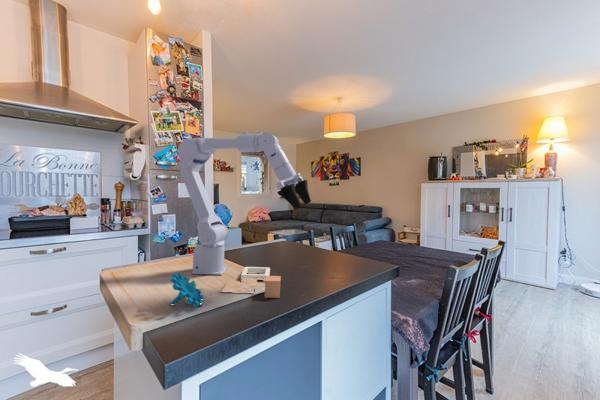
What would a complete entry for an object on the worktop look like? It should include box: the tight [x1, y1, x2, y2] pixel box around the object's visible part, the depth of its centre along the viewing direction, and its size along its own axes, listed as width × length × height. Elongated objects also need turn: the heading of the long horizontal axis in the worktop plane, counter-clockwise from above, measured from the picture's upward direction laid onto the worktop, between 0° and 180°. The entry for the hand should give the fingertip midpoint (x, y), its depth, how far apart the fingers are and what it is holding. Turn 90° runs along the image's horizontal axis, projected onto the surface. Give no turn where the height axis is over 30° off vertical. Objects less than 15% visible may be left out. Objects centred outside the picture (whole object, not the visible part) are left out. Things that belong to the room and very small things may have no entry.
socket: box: [240, 266, 271, 279], centre depth 86 cm, size 8×8×2 cm
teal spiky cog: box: [169, 272, 205, 308], centre depth 64 cm, size 11×6×10 cm
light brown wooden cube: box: [264, 275, 282, 299], centre depth 72 cm, size 4×4×4 cm
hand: (303, 205), depth 83 cm, fingers open, 7 cm apart
